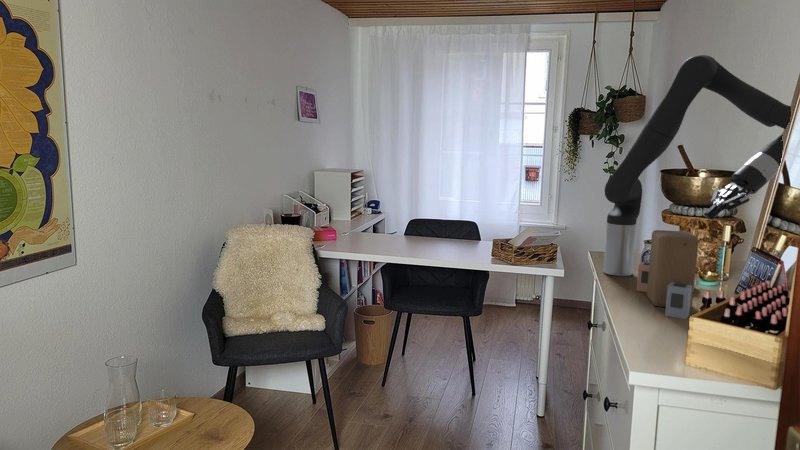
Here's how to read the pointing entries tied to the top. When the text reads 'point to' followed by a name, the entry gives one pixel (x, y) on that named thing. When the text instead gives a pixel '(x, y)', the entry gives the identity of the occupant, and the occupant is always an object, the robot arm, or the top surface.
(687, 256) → the wooden block
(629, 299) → the top surface
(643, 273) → the terracotta tagged block
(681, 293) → the slate tagged block
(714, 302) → the top surface
